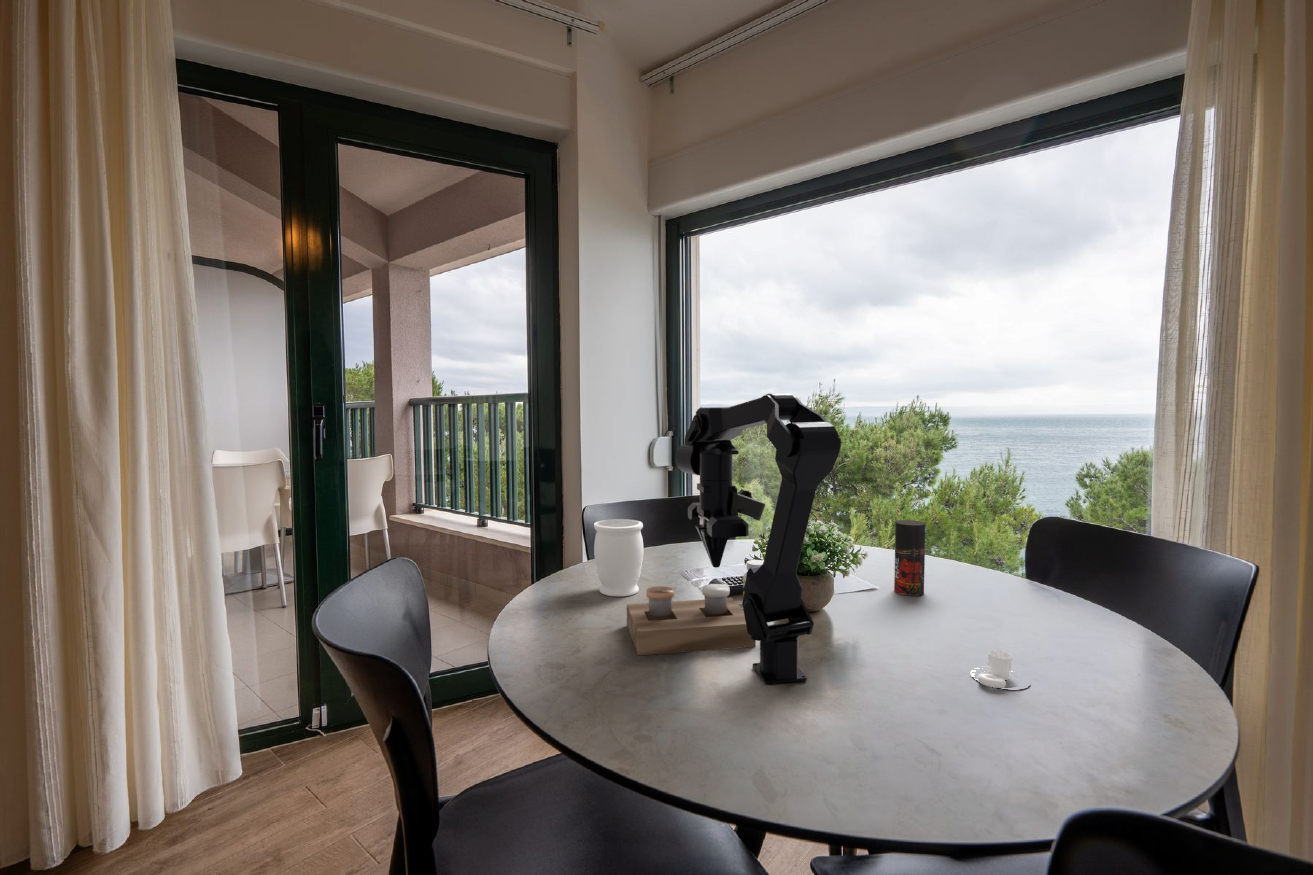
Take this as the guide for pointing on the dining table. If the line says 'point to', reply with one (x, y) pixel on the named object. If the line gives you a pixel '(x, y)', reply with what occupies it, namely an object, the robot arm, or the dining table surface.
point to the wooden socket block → (687, 628)
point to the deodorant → (909, 557)
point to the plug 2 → (715, 598)
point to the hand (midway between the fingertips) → (716, 567)
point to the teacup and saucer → (996, 669)
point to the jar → (618, 556)
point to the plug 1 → (660, 600)
